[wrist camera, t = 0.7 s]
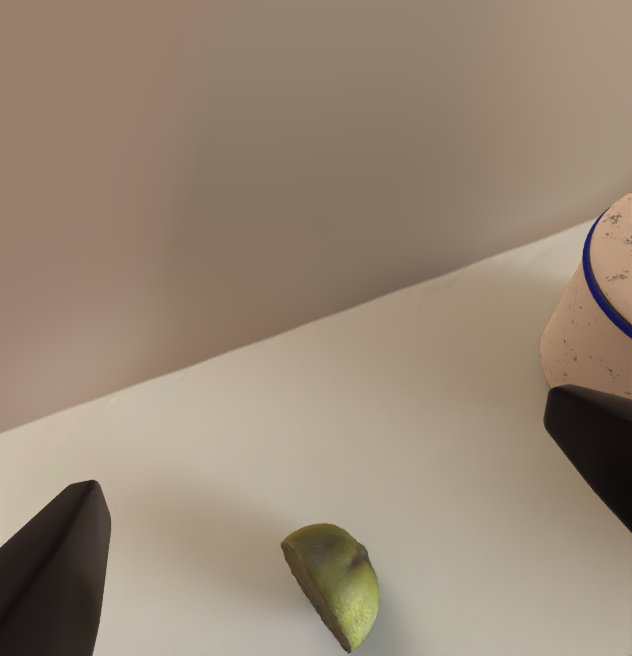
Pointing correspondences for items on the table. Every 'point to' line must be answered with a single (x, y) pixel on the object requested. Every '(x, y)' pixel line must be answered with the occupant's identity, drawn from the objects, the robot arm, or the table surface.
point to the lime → (335, 580)
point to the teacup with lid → (596, 312)
